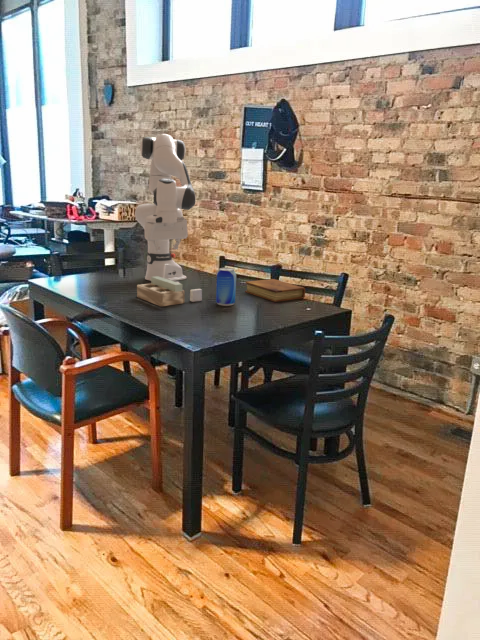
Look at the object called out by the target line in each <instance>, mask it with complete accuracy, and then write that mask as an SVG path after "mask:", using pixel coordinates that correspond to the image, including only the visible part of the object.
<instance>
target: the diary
mask: <svg viewBox="0 0 480 640" xmlns="http://www.w3.org/2000/svg"><path fill="white" fill-rule="evenodd" d="M245 284H246V290H245V291H244V292H245V293H246V294H250V295H254V296H255V297H259V298H262V299H265V300H267V301H271V302H274V303H276V302H284V301H291V300H298V299H299V300H300V299H305V298H306V288H305V287H303V286H300V285H296V284H293V283H290V282H285V281H283V280H279V279H275V278H268V279H261V280H260V279H259V280H249V281H245Z"/></svg>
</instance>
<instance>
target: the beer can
mask: <svg viewBox="0 0 480 640" xmlns="http://www.w3.org/2000/svg"><path fill="white" fill-rule="evenodd" d="M236 290H237V273H236V272H235V268H232V267H220V268H219V269H218V270H217V274H216V290H215V291H216V292H215V303H216V304H217V305H219V306H225V307H228V306H229V307H230V306H233V305H235V303H236V292H237V291H236Z"/></svg>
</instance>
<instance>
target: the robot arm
mask: <svg viewBox="0 0 480 640" xmlns="http://www.w3.org/2000/svg"><path fill="white" fill-rule="evenodd" d="M139 151H140V154H141V156H142V158H143V159H145V160H151V161H150V167H149V168H150V169H149V182H148V183H149V185H148V190H149V193H150V194H151V195H152V196H153V202H152V203H143V204H139V205H137V207H136V208H135V209H134V217H135V220H136V221H137V223H138V224H140V226H141V227H142V228H143V229H144V240H146V241H147V252H146V253H147V254H146V262H147V263H146V264H147V267H146V272H145V276H144V280H146V281H150V282H151V277H155V276H159V277H162V278H165V279H168V280H171V281H174V282H178V281H182V280H187V276H186V275H184V274H183V269H182V266H181V265H179V264H178V263H177V262H175V260H173V258H174V259H175V258H176V254H175V253H171V252H170V240H175V241H176V242H175V243H174V244H173V250H178V249H179V245H180V243H181V240H183V239H185V240H186V239H187V238H188V236H189V232H188V220H187V219H186V218H185V217H184V214H183V211H182V210H184V211H185V210H187V211H189V210H192V209H193V207H195V205H196V202H197V200H196V199H197V197H196V193H195V189H194V188H193V185H192V181H191V178H190V174H189V171H188V169H187V168H188V167H187V166H186V164H185V162H184V161H183V160H185V159H184V158H185V156H186V153H187V149H186V145H185V142H184V141H183V140H181V139H174V138H173V136H172V135H170V134H167V133H161V134H159V135H157V136H156V137H155V136H154V137H153V136H152V137H151V136H146V137H144V138H142V140H141V141H140V145H139ZM172 176H173V177H176V178H177V179H179V182H180V184H181V186H177V182H176V180H175V179H173V178H172Z"/></svg>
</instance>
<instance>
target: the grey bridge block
mask: <svg viewBox="0 0 480 640" xmlns="http://www.w3.org/2000/svg"><path fill="white" fill-rule="evenodd" d="M177 282H178V281H171V280H168V279H165V278H162V277H159V276H155V277H151V281H150V283H152V284H155V285H157V286H160V287H163V288H166V289H169V290H172V291H175V292H178V291H182V290H183V283H181V282H180V283H177ZM159 292H162V291H159Z"/></svg>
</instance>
